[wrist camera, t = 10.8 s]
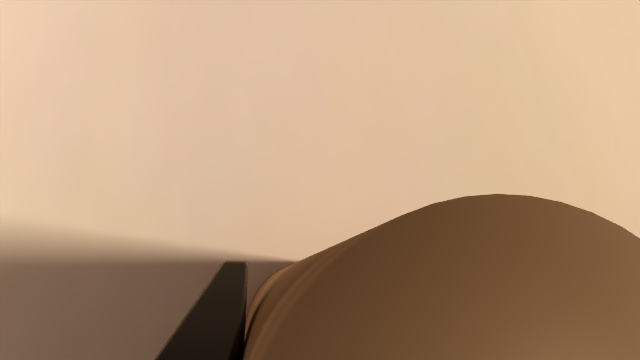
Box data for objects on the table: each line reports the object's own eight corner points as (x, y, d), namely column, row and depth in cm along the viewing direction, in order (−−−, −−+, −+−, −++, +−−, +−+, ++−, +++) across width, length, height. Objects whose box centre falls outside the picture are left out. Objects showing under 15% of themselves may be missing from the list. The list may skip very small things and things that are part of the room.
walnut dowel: (336, 419, 14) (714, 1015, 3) (221, 356, 14) (89, 688, 3) (392, 299, 15) (839, 350, 4) (285, 240, 15) (397, 101, 4)
